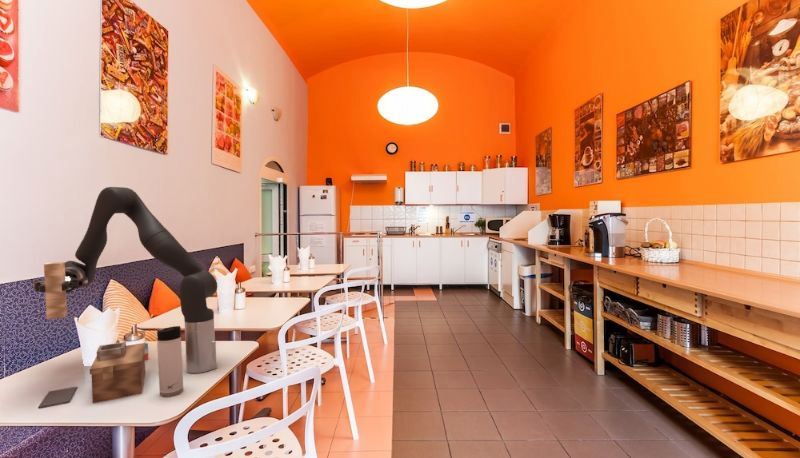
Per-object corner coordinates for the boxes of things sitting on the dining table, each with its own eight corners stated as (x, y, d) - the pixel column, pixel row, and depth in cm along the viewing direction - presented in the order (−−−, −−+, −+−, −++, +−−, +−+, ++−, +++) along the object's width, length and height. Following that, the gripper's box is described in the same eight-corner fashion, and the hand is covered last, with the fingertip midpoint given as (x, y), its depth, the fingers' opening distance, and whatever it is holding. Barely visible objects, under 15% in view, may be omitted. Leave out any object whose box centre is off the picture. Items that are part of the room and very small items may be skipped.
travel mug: (174, 397, 122) (171, 330, 121) (154, 396, 123) (151, 329, 122) (189, 388, 128) (186, 324, 127) (170, 387, 129) (167, 323, 129)
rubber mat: (77, 387, 131) (77, 386, 131) (69, 402, 120) (69, 401, 120) (49, 392, 127) (48, 391, 127) (38, 408, 117) (38, 407, 117)
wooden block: (67, 314, 126) (64, 261, 125) (64, 317, 123) (61, 263, 122) (50, 316, 124) (47, 262, 124) (46, 319, 121) (43, 264, 120)
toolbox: (146, 371, 144) (144, 333, 143) (142, 394, 125) (140, 351, 124) (101, 379, 137) (99, 340, 137) (91, 404, 119) (88, 359, 118)
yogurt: (144, 359, 156) (143, 342, 156) (148, 359, 156) (147, 342, 156) (124, 371, 144) (123, 353, 144) (129, 371, 144) (128, 353, 144)
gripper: (38, 270, 132) (20, 277, 117) (93, 266, 139) (83, 273, 124) (39, 293, 132) (21, 303, 117) (94, 288, 139) (84, 298, 124)
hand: (53, 288), depth 121 cm, fingers closed on wooden block, 4 cm apart
